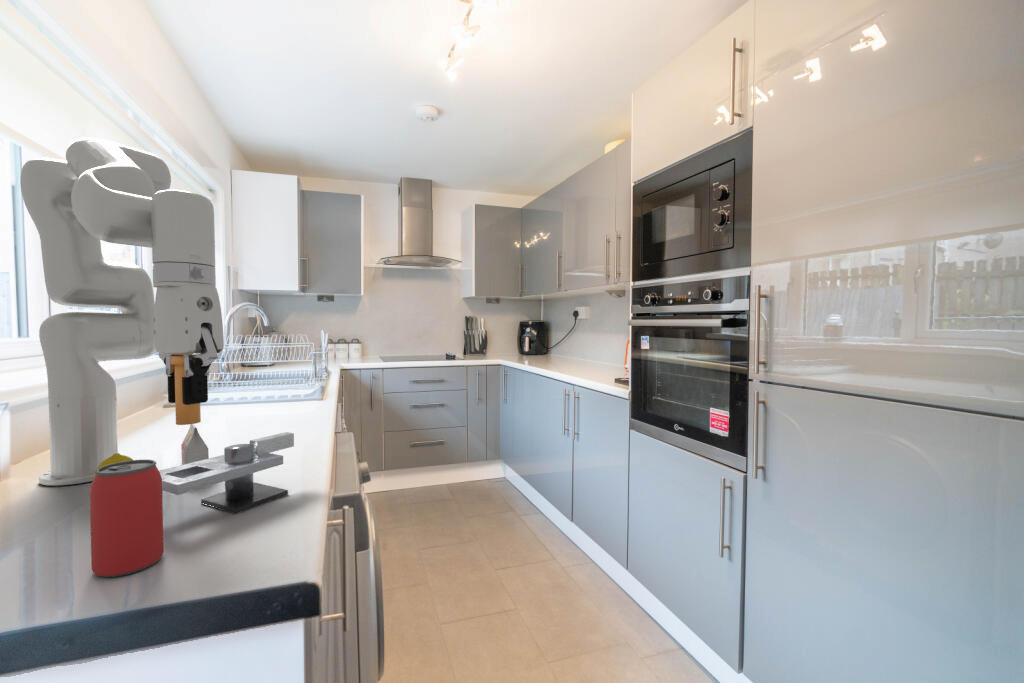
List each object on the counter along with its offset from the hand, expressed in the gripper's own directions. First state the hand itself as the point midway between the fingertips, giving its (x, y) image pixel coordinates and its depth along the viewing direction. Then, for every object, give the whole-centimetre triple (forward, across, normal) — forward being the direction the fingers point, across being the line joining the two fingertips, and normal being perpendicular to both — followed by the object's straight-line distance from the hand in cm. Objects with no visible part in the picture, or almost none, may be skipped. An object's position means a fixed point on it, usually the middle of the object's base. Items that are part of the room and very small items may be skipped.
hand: (188, 401), depth 67 cm
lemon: (+18, +18, +2) cm, 25 cm away
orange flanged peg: (+3, 0, 0) cm, 3 cm away
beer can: (+18, -8, +11) cm, 22 cm away
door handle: (+18, 0, -6) cm, 19 cm away
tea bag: (+18, +20, -12) cm, 29 cm away
